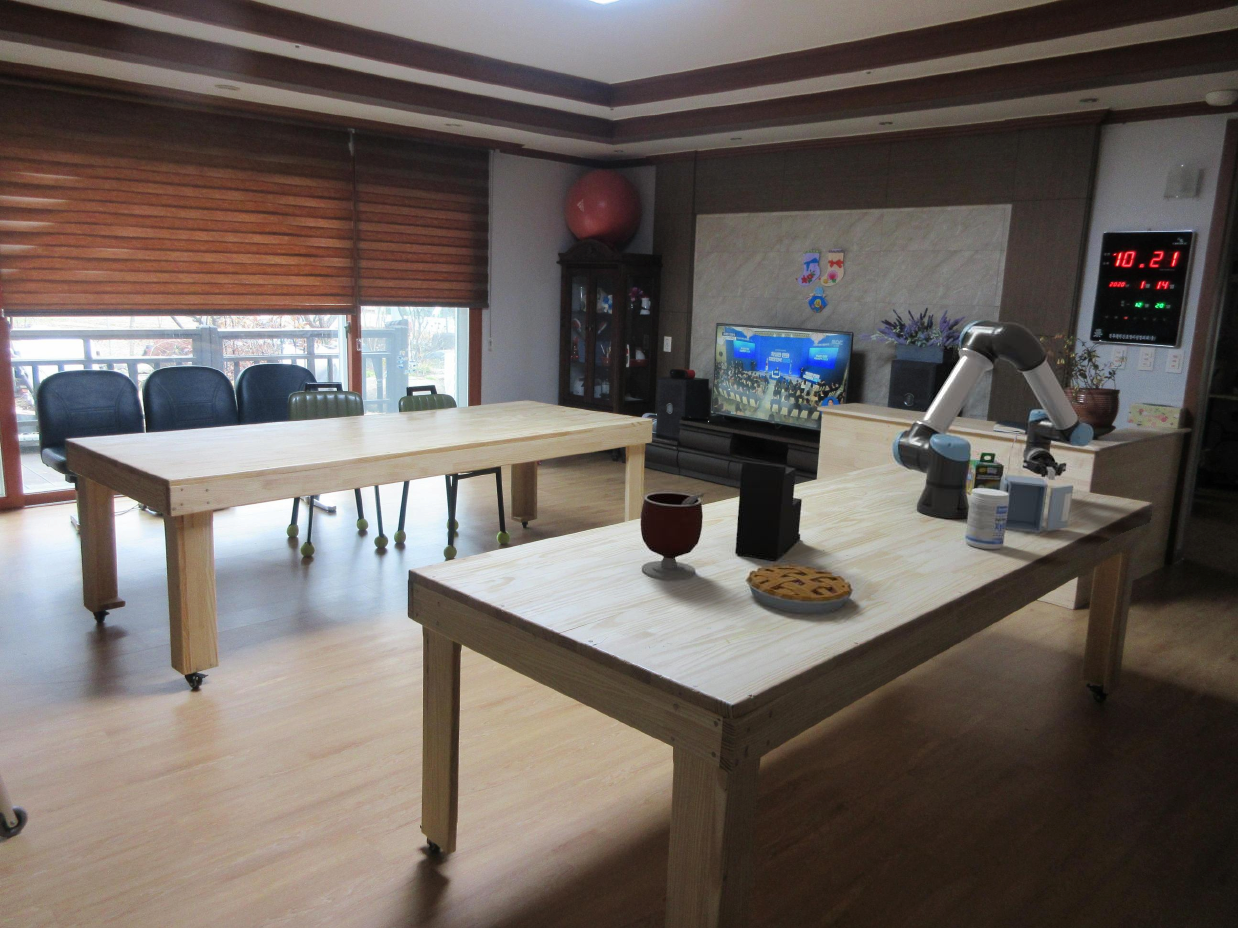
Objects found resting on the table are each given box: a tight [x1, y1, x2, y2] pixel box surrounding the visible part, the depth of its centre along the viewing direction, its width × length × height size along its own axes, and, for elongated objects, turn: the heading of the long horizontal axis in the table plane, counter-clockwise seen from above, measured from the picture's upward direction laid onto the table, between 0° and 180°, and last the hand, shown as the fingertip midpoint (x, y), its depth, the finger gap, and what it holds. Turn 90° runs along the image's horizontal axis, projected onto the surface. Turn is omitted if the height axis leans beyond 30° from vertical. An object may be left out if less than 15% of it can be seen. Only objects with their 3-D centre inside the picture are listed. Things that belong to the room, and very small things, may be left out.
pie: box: [745, 564, 854, 615], centre depth 188 cm, size 22×22×5 cm
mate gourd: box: [640, 491, 705, 581], centre depth 200 cm, size 16×14×20 cm
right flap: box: [1045, 484, 1074, 532], centre depth 253 cm, size 10×1×12 cm, turn 123°
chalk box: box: [966, 452, 1005, 496], centre depth 297 cm, size 9×9×15 cm
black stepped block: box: [735, 460, 803, 561], centre depth 223 cm, size 23×11×24 cm, turn 155°
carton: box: [1000, 474, 1048, 534], centre depth 257 cm, size 11×10×14 cm
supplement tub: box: [964, 488, 1009, 550], centre depth 235 cm, size 10×10×15 cm
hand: (1052, 475), depth 268 cm, fingers closed
